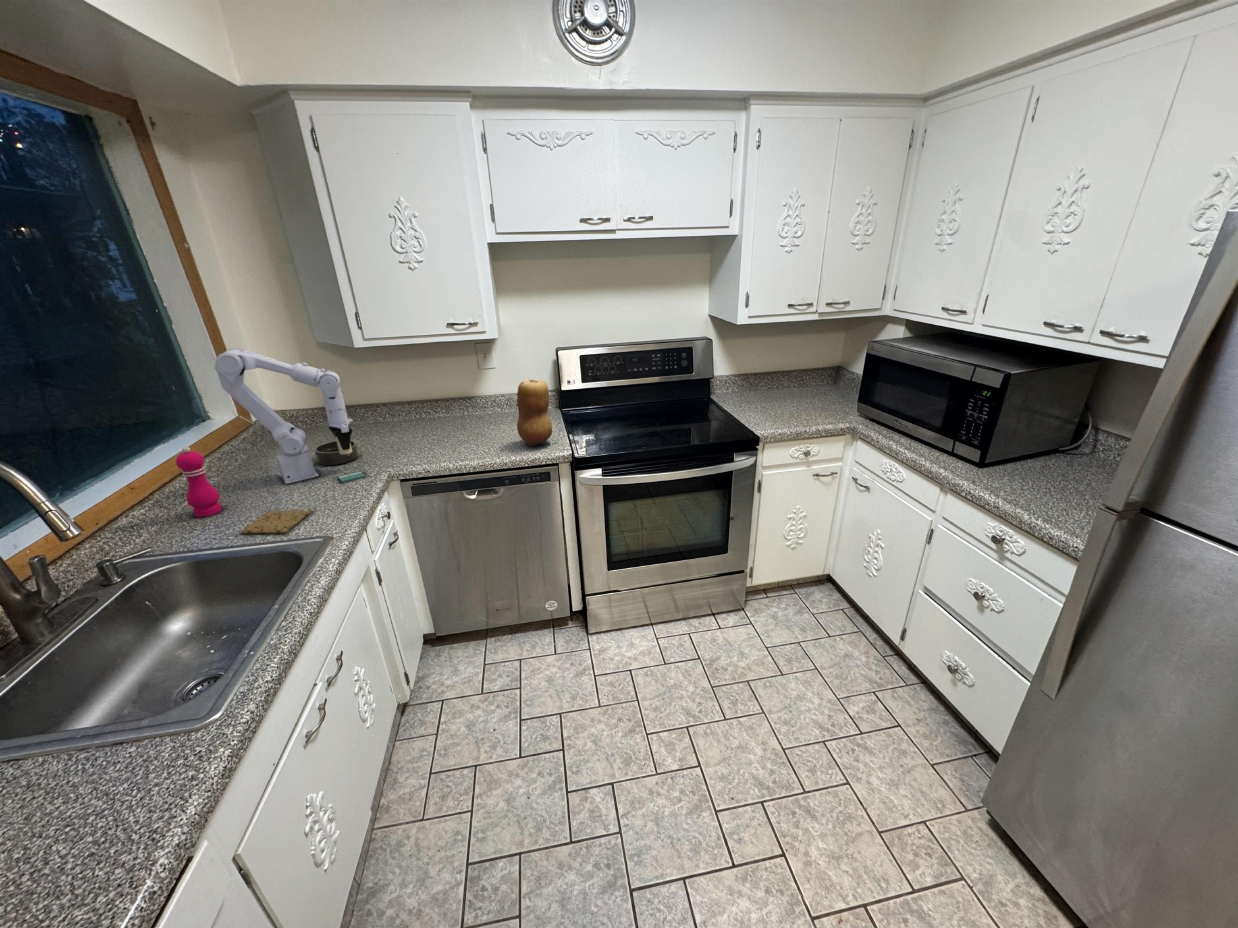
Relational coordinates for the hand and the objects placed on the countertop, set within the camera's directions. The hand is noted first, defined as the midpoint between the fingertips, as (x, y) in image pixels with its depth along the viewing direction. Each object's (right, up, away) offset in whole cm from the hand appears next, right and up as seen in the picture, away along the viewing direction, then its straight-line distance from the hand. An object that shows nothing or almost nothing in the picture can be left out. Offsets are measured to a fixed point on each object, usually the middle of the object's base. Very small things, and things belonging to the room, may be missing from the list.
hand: (344, 447), depth 170 cm
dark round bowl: (-9, -4, +12) cm, 15 cm away
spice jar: (0, -2, +1) cm, 2 cm away
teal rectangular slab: (+4, -10, -3) cm, 11 cm away
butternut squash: (+60, +2, +25) cm, 66 cm away
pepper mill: (-25, -20, -25) cm, 41 cm away
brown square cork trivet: (-1, -22, -32) cm, 39 cm away
